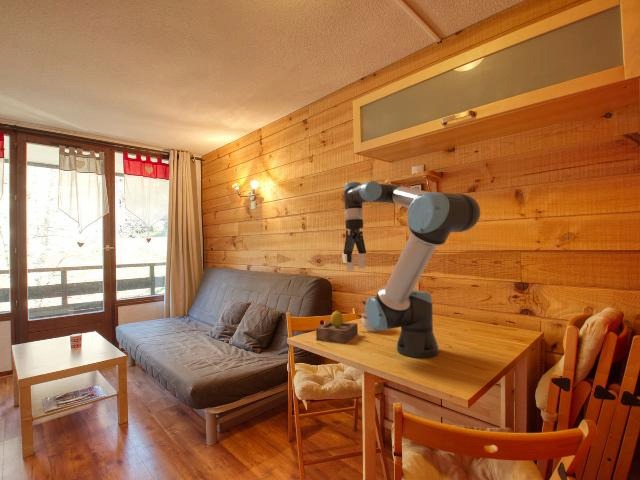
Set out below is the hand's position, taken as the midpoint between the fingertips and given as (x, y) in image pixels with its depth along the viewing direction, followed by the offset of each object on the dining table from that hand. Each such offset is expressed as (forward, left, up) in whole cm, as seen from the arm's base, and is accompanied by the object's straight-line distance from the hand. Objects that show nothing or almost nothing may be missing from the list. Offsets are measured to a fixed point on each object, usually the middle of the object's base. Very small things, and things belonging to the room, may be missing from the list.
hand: (356, 269), depth 138 cm
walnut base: (+11, -4, -31) cm, 33 cm away
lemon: (+11, -4, -27) cm, 30 cm away
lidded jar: (0, -21, -31) cm, 37 cm away
